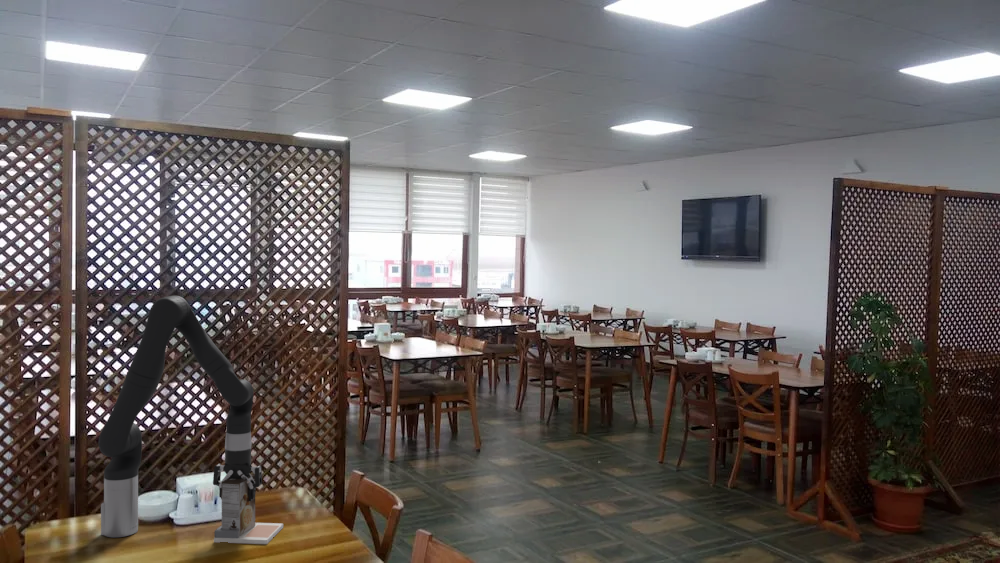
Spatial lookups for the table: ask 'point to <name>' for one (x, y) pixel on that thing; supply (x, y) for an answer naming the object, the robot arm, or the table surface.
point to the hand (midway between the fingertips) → (237, 499)
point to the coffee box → (237, 506)
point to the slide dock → (249, 534)
